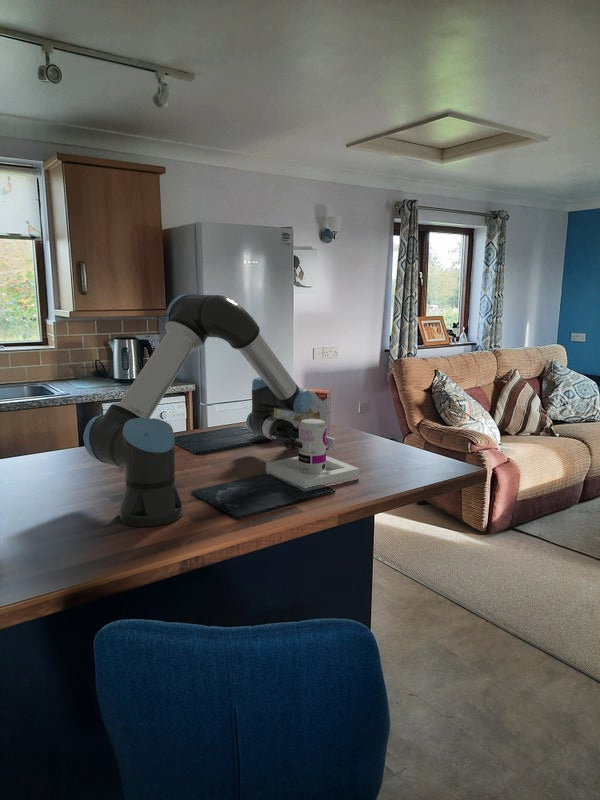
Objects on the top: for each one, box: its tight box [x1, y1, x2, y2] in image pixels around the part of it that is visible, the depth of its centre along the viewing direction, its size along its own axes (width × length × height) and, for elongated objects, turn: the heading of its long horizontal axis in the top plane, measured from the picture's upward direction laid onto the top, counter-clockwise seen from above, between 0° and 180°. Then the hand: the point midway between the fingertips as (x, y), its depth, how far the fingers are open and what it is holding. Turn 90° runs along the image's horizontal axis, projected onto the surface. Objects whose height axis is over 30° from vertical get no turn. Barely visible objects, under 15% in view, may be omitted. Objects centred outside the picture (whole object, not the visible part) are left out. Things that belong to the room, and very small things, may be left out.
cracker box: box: [289, 387, 332, 449], centre depth 202 cm, size 14×6×21 cm, turn 73°
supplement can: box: [298, 418, 327, 473], centre depth 169 cm, size 8×8×15 cm
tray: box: [265, 455, 360, 488], centre depth 171 cm, size 20×20×4 cm
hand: (322, 445), depth 165 cm, fingers closed on supplement can, 8 cm apart
